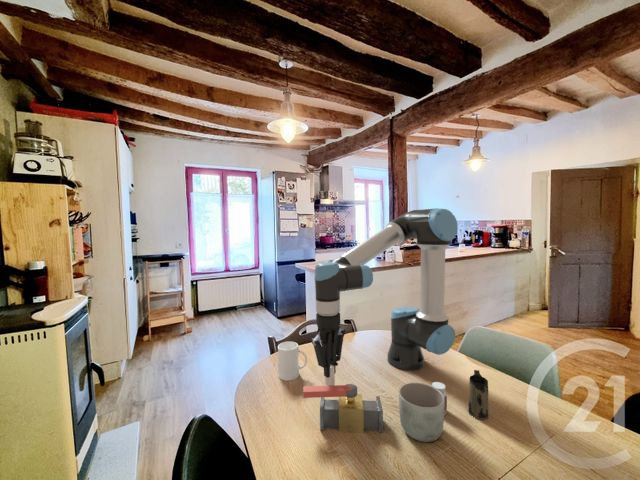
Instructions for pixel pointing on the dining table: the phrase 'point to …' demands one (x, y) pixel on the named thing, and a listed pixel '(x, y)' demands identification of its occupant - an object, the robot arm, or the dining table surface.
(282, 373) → the mug
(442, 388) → the pill bottle
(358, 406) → the valve
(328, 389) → the lever
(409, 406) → the planter
